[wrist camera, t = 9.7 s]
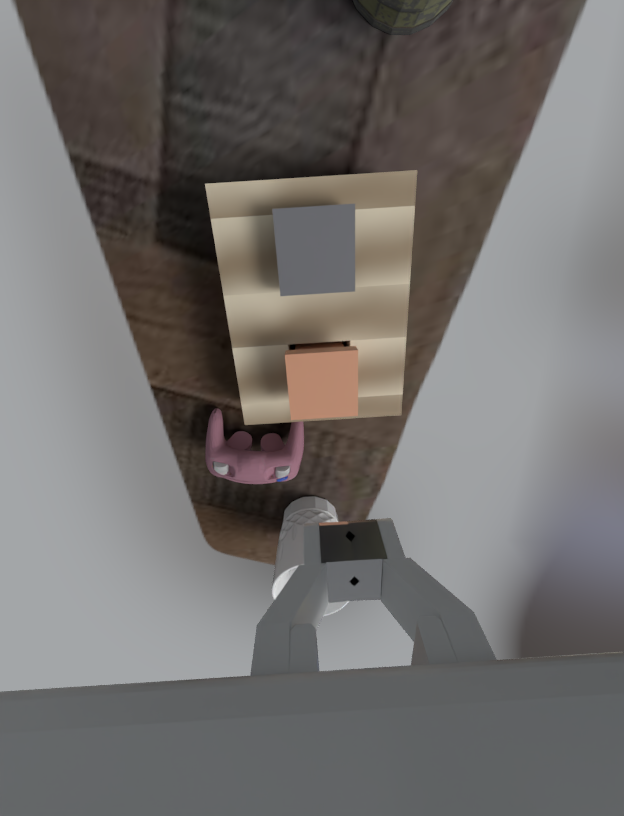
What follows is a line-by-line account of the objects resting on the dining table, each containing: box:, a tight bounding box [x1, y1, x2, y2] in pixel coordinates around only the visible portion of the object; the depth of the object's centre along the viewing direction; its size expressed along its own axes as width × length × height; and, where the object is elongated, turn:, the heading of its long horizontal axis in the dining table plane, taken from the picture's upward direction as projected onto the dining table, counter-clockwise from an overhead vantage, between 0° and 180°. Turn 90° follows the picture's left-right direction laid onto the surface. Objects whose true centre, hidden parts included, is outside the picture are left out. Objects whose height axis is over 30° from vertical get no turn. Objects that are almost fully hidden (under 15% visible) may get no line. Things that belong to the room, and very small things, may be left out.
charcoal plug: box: [272, 204, 355, 296], centre depth 24 cm, size 5×5×7 cm
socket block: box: [205, 170, 417, 425], centre depth 27 cm, size 18×14×5 cm
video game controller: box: [206, 408, 304, 484], centre depth 33 cm, size 10×5×7 cm, turn 85°
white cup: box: [272, 496, 349, 616], centre depth 36 cm, size 8×8×10 cm
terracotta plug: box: [285, 341, 358, 420], centre depth 27 cm, size 5×5×7 cm
